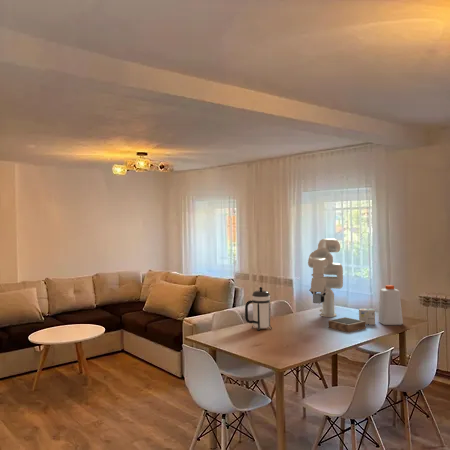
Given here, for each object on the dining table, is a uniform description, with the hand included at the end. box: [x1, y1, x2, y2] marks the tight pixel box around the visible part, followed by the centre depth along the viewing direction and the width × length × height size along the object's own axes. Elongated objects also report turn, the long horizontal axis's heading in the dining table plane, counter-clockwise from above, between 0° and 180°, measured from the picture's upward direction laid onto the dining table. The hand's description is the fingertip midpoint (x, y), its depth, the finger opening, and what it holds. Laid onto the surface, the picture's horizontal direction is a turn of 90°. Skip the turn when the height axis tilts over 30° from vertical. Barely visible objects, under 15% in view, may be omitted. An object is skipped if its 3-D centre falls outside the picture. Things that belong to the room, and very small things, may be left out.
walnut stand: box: [328, 316, 366, 333], centre depth 317 cm, size 18×18×5 cm
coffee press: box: [244, 287, 273, 332], centre depth 318 cm, size 17×16×30 cm
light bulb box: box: [358, 308, 376, 326], centre depth 329 cm, size 11×7×11 cm, turn 84°
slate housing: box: [312, 292, 325, 305], centre depth 320 cm, size 5×9×6 cm, turn 140°
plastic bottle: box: [378, 284, 404, 326], centre depth 328 cm, size 15×15×28 cm
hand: (318, 301), depth 319 cm, fingers closed on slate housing, 5 cm apart
